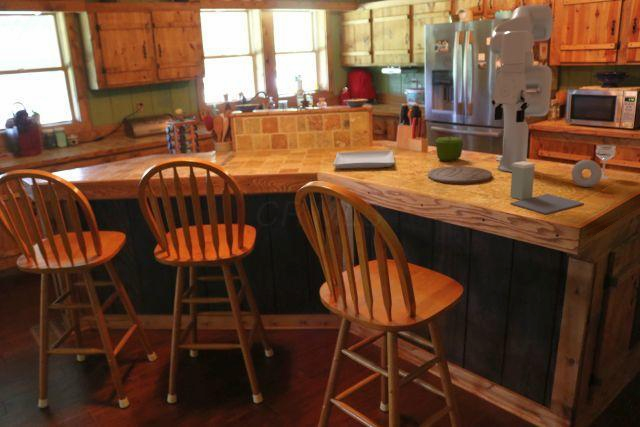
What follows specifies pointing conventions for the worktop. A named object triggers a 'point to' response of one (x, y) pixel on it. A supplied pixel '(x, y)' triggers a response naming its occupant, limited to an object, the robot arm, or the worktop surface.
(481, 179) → the trivet
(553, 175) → the worktop surface
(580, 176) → the donut
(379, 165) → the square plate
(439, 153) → the green bell pepper
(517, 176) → the sage block
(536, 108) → the robot arm
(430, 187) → the worktop surface
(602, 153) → the wineglass
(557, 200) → the charcoal mat
